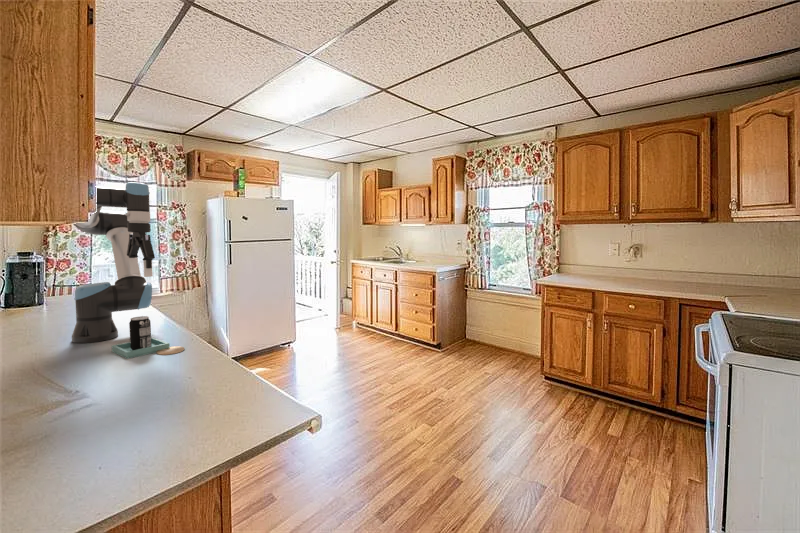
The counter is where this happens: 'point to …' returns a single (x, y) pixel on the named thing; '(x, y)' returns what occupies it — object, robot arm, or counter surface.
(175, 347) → the cork coaster
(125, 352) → the tray
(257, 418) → the counter surface
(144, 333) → the beverage can
